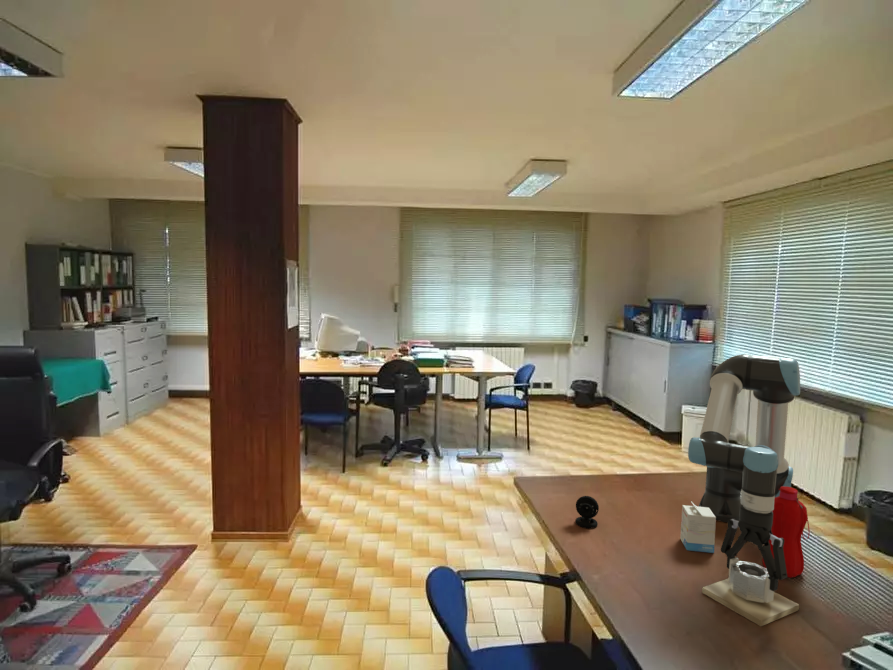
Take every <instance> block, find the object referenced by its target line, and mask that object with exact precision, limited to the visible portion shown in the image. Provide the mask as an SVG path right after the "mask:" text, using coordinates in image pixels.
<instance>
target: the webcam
mask: <svg viewBox="0 0 893 670" xmlns="http://www.w3.org/2000/svg"><path fill="white" fill-rule="evenodd" d="M575 510H576V512H577V513H578V514H579V516H578V517H576V519H575V525H577V526H578V527H580V528H583V529H587V530H588V529H595V528H596V527H598V521H597V520H596V519H594V517H596V516H598V513H599V510H600V507H599V503H598V501H597V500H596V499H595V498H594V497H592V496H589V495H582V496H580V497H578V499H577V500H576V502H575Z"/></svg>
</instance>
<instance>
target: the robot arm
mask: <svg viewBox="0 0 893 670" xmlns="http://www.w3.org/2000/svg"><path fill="white" fill-rule="evenodd" d="M709 387H710V388H711V389H710V393H709V398H708V401H707V406H706V409H705V410H706V411H705V415H704V418H703V423H702V427H701V431H700V435H699V436H698V437H695V436H693V437H691V438H690V440H689V444H688V448H687V449H688V450H687V455H688V458H687V459H688V460H689V462H690V463H691V464H692V463H693V464H695V465H701V466H704V467H706V476H705V487H704V488H705V489H704V493H703V495H702V497H701V499H700V501H699V503H698V506H699V507H708V508H710V510H711V511H712V513H713V514H714V515H715V517H716V521H718V522H722V523H727V528H726V529H727V530H726V532H725V535H724V537H723V541H722V544H721V547H720V552H721V553H722V554H725V556H726V568H727V569H728V578H727V579H728V582H729V583H730V572H731V563H734V562H737V561H740V558H738V557H737V556H738V554H739V552H740V551H741V550H742V549H743V547H744V546H745V545H746V543H747V542H748V543H752V544H753V545H756V546H757V548H758V550H759V552H760V554H761V558H762V557H763V560H764V563H765V565H766V568H767V571H768V574H769V576H766V583H765V595H764V602H766V603H768V602H770V601H773V598H774V592H776V591H777V590H778V586H779V581H782V580H785V579H787V578H788V577H787V570H786V564H785V557H784V550H783V546H784V539H783V538H778V537H776V536H774V535H773V533H772V531H771V528H772V524H773V512H772V511H773V510H774V499H775V497H778V496H780V490H779V489H780V487H782V486H786V487H792V481H793V476H794V469H793V467H792V466H790V465H789V461H788V460H787V459H786V458H785V449H786V437H787V425H788V414H789V413H788V411H789V403H792V402H793V401H794V400H795V397H796V396H800V394H801V372H800V365H799V362H798V360H796V359H794V358H789V357H784V356H768V355H755V354H754V355H753V354H752V355H751V354H736V355H733V356H731V357H729V358H727V359H725V360H723V361H722V362H721V363H720V364H719V365H718V366H716V368H715V369H714V370H713V372H712V373H711V376H710V379H709ZM743 390H746V391H752V395H753V397H754V398H755V399H756V400H757V411H756V413H757V414H756V433H755V446H751V445H742V444H737V443H731V442H729V439H730V435H731V429H732V426H733V420H734V419H733V418H734V416H735V415H734V414H735V409H736V404H737V398H738V395H739V394H740V393H741V392H742V391H743ZM738 528H739V530H740V532H741V533H739V535H738V536H737V539H736V541H735V542H734V540H735V536H736V533H737V530H738ZM770 539H771V541H772V543H771V544H772V545H773V554H774V558H773V555H772V552H771V549H770V548H771V546H770V543H769V540H770Z"/></svg>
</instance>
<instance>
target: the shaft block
mask: <svg viewBox="0 0 893 670" xmlns="http://www.w3.org/2000/svg"><path fill="white" fill-rule="evenodd" d="M745 573H747V574H749V575H754V576H758V572H756V571H754V570H751V569H746V570H745ZM701 593H702V594H704V595H706V596H708V597H709V598H710V599H713V600H714V601H716V602H718V603H720V605H723V606H725V607H726V608H728V609H730V610H731V611H733V612H735V613H737V614H738V615H740V616H742V617H744V618H746V619H747V620H749V621H751V622H752V623H755V624H756V625H757V626H759V627H763V626H765V625H767V624H770V623H772V622H774V621H776V620H779V619H782V618H783V617H784V618H785V617H786V616H788V615H790V614H793V613H795V612H798V611H799V610H800V609H799V608H800V604H799V603H797V602H795V601H793V600H791V599H789V598H787V597H785V596H783V595H781V594H779V593H777V592H776V591H774V598H773V601H770V602H768V603H766V602H763V603H762V602H756V601H751V600H746V599H744V598H742V597H740V596H739V595H737V594H735V593H733V592H732V590H731V587H730V583H729V582H728V578H726V579H723V580H720V581H716V582H714V583H711V584H708V585H706V586H703V587H702V592H701Z"/></svg>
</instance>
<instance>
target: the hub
mask: <svg viewBox="0 0 893 670" xmlns="http://www.w3.org/2000/svg"><path fill="white" fill-rule="evenodd" d="M746 569H751V570H754V571H756V572H758V576H754V575H749V574H747V573H745V570H746ZM766 576H769V574H768V571H767V568H765V567H764V566H762V565H760V564H758V563H755V562H751V561H744V560H739V561H737V562H734V563H731V572H730V587H731V590H732V592H733V593H735V594H737V595H739V596H740V597H742V598H744V599H746V600H751V601H756V602H762V603H763V602H764V595H765V583H766Z"/></svg>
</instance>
